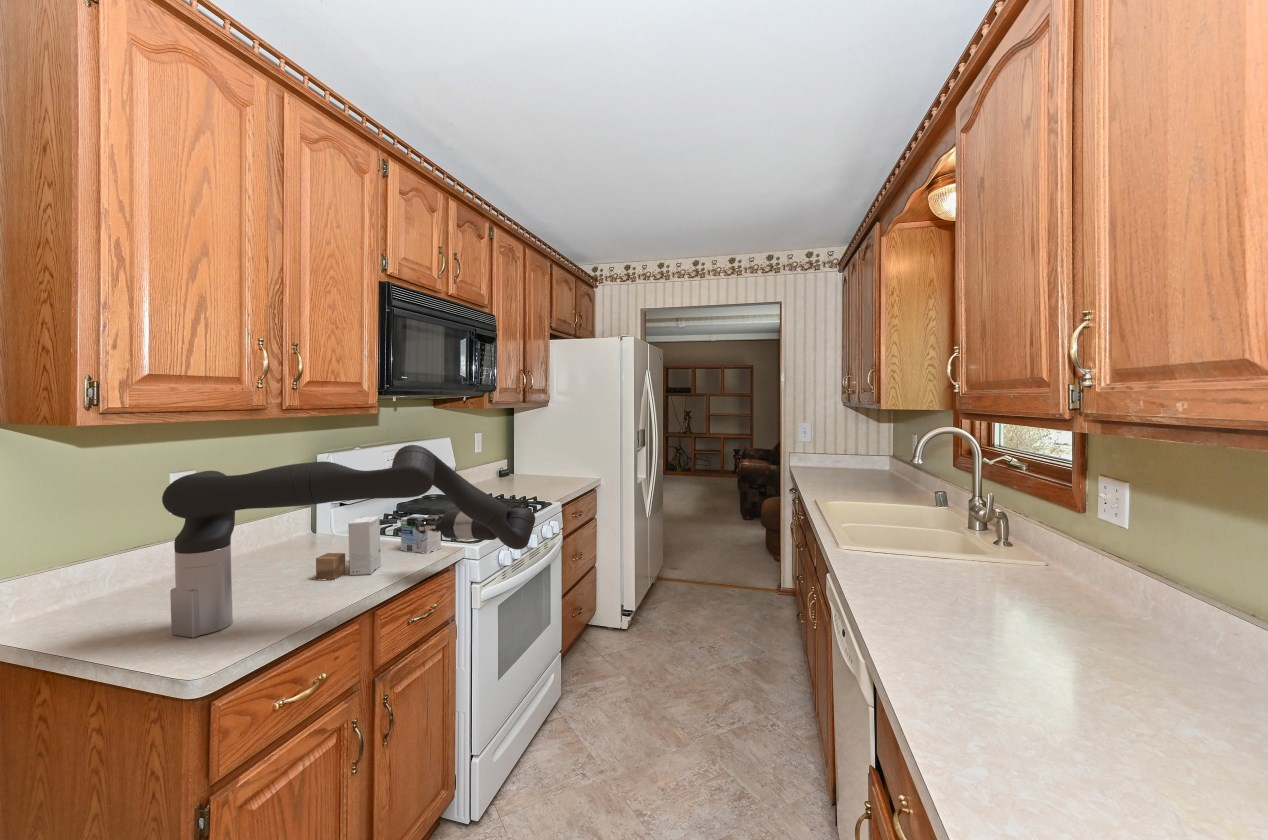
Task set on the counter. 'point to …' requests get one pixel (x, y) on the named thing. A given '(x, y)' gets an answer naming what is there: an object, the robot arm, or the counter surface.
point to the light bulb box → (418, 538)
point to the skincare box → (364, 545)
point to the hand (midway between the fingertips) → (408, 521)
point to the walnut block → (330, 566)
